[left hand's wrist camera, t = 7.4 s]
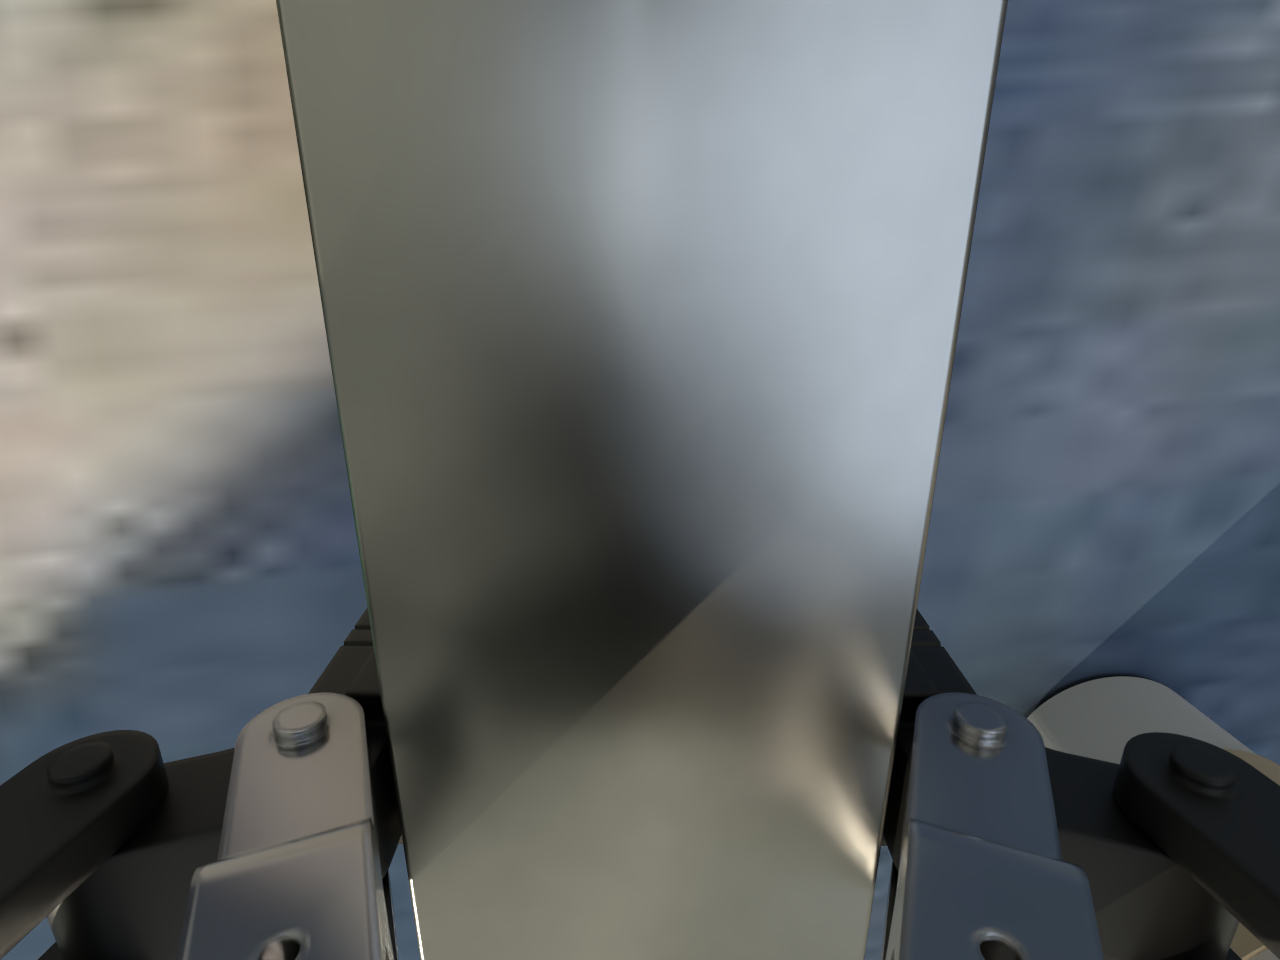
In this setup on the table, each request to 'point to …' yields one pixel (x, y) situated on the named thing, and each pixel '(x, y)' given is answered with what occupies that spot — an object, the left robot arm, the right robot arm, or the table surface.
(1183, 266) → the table surface
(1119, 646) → the table surface
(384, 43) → the bar
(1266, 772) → the coffee cup
